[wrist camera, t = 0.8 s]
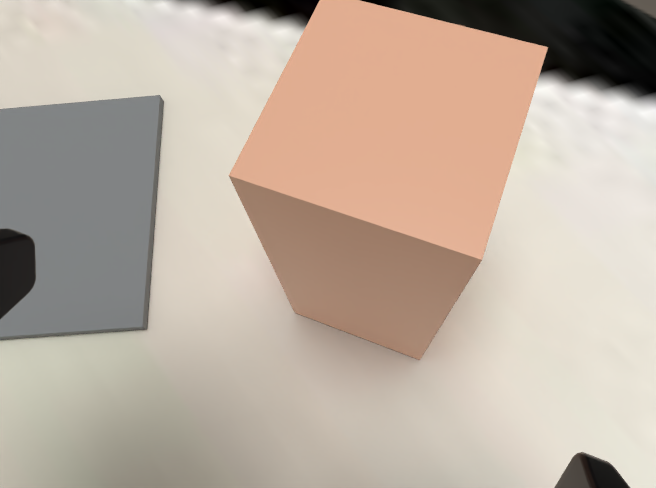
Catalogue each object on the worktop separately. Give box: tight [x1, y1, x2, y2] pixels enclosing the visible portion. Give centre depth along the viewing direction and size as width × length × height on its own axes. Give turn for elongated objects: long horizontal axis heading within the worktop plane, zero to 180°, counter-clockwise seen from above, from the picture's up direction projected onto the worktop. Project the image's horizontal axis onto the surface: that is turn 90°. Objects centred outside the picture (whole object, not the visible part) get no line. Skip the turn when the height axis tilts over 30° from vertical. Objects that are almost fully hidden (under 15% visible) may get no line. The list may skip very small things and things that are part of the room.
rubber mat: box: [0, 95, 164, 340], centre depth 25 cm, size 12×11×1 cm
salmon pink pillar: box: [229, 0, 548, 360], centre depth 17 cm, size 6×6×12 cm
